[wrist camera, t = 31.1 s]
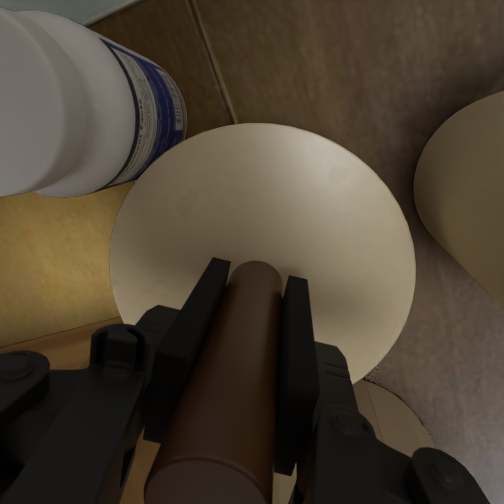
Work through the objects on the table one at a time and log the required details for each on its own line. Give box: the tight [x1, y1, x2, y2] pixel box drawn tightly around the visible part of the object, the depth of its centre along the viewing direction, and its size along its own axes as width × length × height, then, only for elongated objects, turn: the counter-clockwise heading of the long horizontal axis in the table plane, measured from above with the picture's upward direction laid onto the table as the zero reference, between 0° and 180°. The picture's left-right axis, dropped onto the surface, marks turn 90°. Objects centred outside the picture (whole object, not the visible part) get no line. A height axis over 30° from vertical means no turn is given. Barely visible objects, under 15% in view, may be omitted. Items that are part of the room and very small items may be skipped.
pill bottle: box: [0, 7, 187, 198], centre depth 14 cm, size 6×6×10 cm
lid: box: [109, 123, 416, 504], centre depth 12 cm, size 14×14×11 cm
